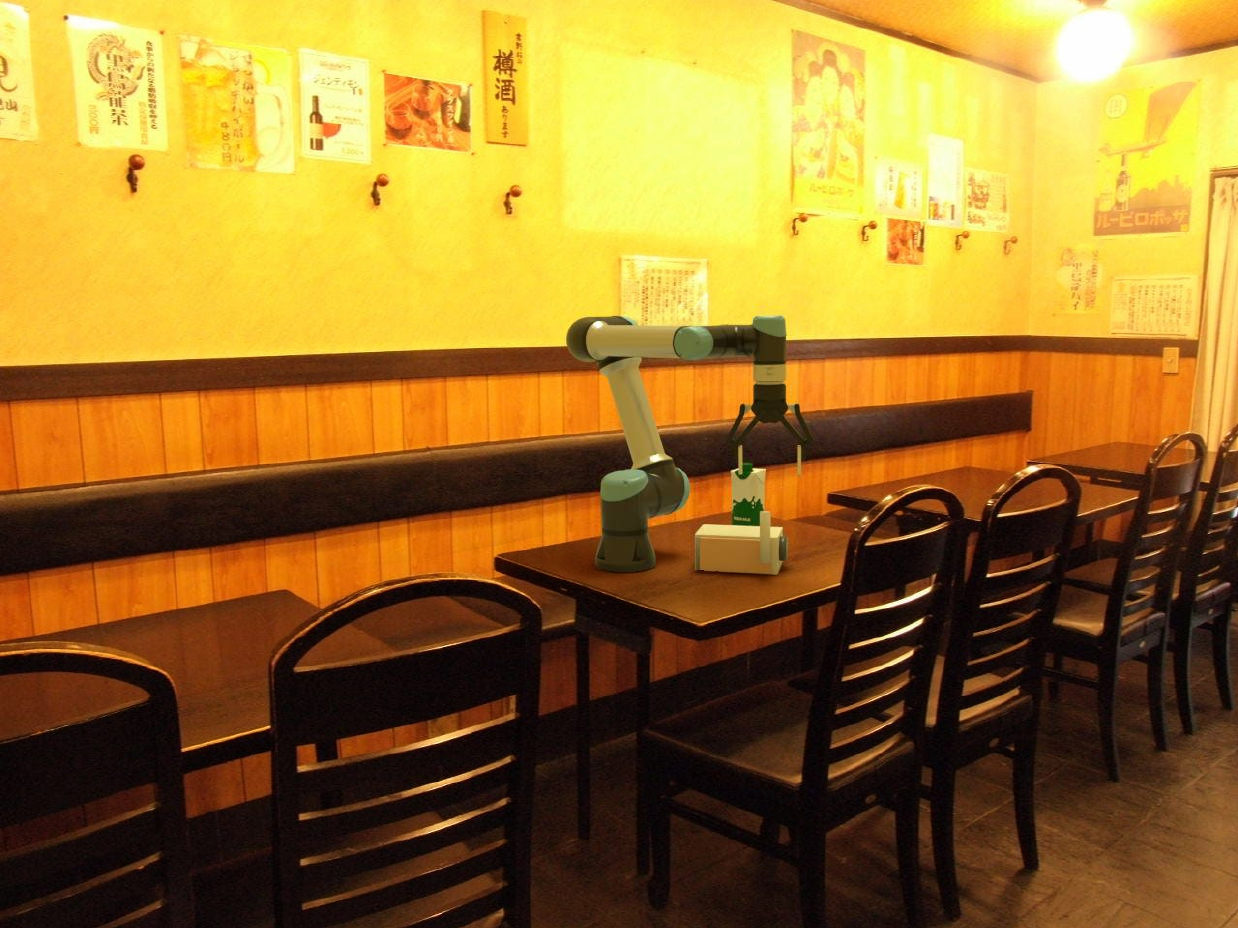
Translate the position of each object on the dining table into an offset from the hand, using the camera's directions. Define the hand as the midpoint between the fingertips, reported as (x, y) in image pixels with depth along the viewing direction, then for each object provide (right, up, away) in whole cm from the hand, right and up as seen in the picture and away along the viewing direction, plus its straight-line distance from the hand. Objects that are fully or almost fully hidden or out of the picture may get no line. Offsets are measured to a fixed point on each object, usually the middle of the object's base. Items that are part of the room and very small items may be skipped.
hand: (769, 473), depth 229 cm
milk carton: (+2, -17, +52) cm, 55 cm away
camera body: (-5, -23, +13) cm, 27 cm away
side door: (-8, -24, +5) cm, 26 cm away
